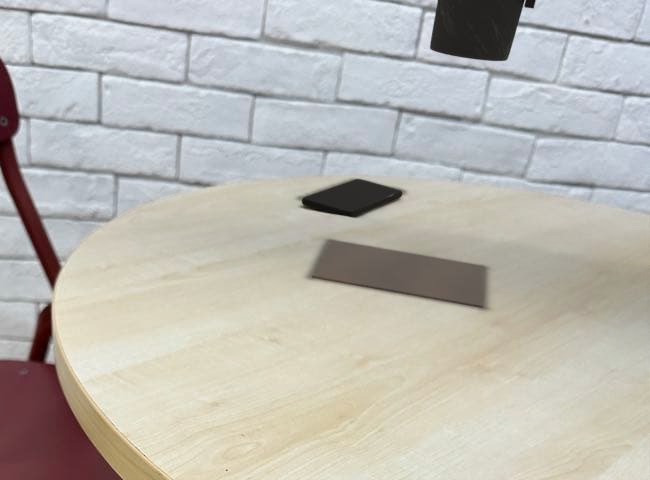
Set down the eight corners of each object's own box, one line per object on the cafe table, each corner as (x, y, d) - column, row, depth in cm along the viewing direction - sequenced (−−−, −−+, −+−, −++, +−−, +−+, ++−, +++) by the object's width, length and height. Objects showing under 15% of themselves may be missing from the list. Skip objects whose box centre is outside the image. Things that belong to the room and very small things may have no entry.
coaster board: (481, 275, 87) (483, 265, 87) (480, 316, 78) (483, 306, 77) (329, 249, 89) (330, 239, 89) (310, 286, 80) (311, 275, 79)
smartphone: (404, 191, 109) (350, 212, 98) (403, 197, 109) (349, 219, 99) (357, 178, 111) (300, 197, 101) (356, 184, 112) (299, 204, 101)
